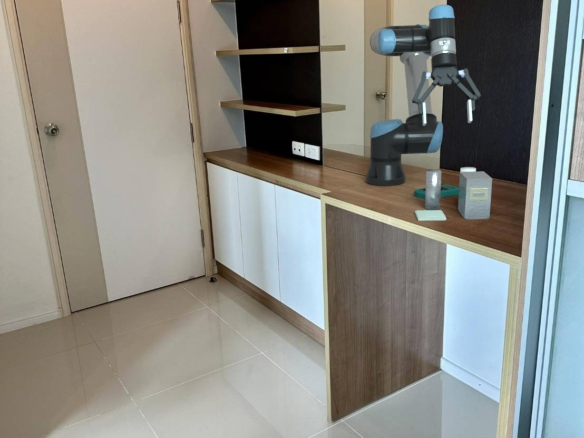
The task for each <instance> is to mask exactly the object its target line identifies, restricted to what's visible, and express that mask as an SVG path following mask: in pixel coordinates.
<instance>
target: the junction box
mask: <svg viewBox="0 0 584 438" xmlns="http://www.w3.org/2000/svg"><path fill="white" fill-rule="evenodd" d="M458 183H459V185H458V188H459V195H458V204H457V205H458V206H457V211H458V212H459V213H460V215H461V216H462V217H463V218H464V220H490V216H491V214H490V213H491V202H492V201H491V199H492V185H493V178H492V177H491V176H490V175H489V174H488V173H486V172H485V171H481V170H480V171H476V172H459V182H458Z"/></svg>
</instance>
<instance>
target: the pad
mask: <svg viewBox="0 0 584 438" xmlns="http://www.w3.org/2000/svg"><path fill="white" fill-rule="evenodd" d="M414 214H415V217H416V219H417V221H419V222H420V221H422V222H423V221H425V222H426V221H447V217H446V215H445V214H444V212H443V211H442V210H441V209H439V210H426V209H424V210H423V209H422V210H417V209H416V210H414Z"/></svg>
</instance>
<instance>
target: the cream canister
mask: <svg viewBox="0 0 584 438" xmlns="http://www.w3.org/2000/svg"><path fill="white" fill-rule="evenodd" d="M460 172H477V168H476V167H474V166H472V167H471V166H464V167H460ZM460 172H459V173H460Z"/></svg>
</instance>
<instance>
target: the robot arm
mask: <svg viewBox="0 0 584 438" xmlns="http://www.w3.org/2000/svg"><path fill="white" fill-rule="evenodd" d="M455 27H456V25H455V12H454V8H453V7H452V6H451V5H448V4H439V5H435V6H433V7H431V8H430V9H429V12H428V25H427V24H419V23H418V24H412V25H411V24H409V25H405V24H404V25H388V26H384V27H381V28H378V29H377V30H374V32H373V33H371V35H370V39H369V46H370V48H371V51H372V52H374V53H375V54H377V55H380V56H383V57H399V61H400V63H402V64H403V65H404V75H405V84H406V85H405V86H406V95H407V96H406V97H407V107H408V110H407V111H408V116H407V117H406V119H405V122H403V121H402V119H399V118H396V119H393V118H392V119H386V120H381V121H380V120H379V121H377V122H375V123H372V125H371V126H370V135H369V138H370V149H369V150H370V156H369V157H370V160H369V161H370V163H369V166H368V167H367V172H366V174H365V182H366V183H367V184H369V185H372V186H384V187H385V186H389V187H391V186H398V185H402V184H405V182H406V173H405V169H404V166H403V163H402V155H418V154H422V155H423V154H425V155H427V154H432V153H433V154H434V153H437V152H438V151H439V150H440V148H441V145H442V142H443V135H444V124H443V122H442V121H440V120H439V121H438V120H437V115H436V114H435V113H433V111H432V110H433V109H432V99H431V93H432V92H433V90H435V88H436V87H437V86H438V87H439V88H441V87H445V86H446V87H450V86H451V85H452V86H453V87H455V89H457V91H458V92H460V93H461V94H462V96H464V97H465V98H466V99H467V102H466V110H467V123H468V124H471V123H472V122H473V112H474V111H475V109H476V104H475V103H476V102H475V101H476V100H479V99H480V97H481V96H482V95H481V93H480V91H479V89H478V88H477V86H476V84H475V83H474V81H473V80H472V78H471V77H470V75H469V74H470V73H469V69H468V68H466V67H465V68H464V69H461V70H459V69H458V66H457V64H458V63H457V61H458V60H457V55H456V53H457V47H456V32H455V31H456V28H455ZM429 58H431V59H430V61H431V72H429V71H428V62H427V61H428V60H429ZM458 76H460V78H463V81H464V83H466V86H467V88H466V86H465V85H464V84H462V83H461V81H460V80H459V78H458ZM429 78H431V80H432V83H431V84H430V81H429Z"/></svg>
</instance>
